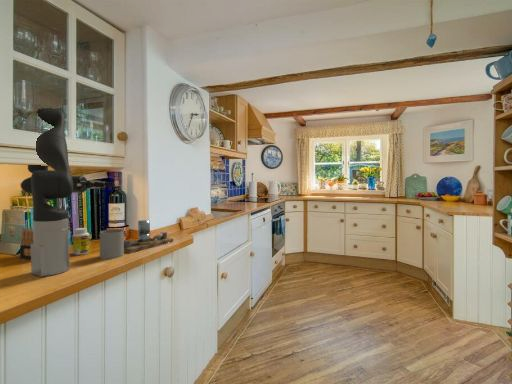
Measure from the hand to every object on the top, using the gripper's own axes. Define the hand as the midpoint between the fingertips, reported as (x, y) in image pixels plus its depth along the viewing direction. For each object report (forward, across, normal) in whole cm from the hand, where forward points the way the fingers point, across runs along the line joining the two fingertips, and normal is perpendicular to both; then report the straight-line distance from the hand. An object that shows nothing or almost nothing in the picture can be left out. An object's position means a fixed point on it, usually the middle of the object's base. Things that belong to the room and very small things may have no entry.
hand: (109, 184), depth 123 cm
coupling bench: (+16, 0, +28) cm, 33 cm away
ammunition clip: (-18, -20, +28) cm, 39 cm away
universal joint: (+16, 0, +26) cm, 31 cm away
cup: (+9, -17, +28) cm, 34 cm away
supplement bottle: (-5, -13, +28) cm, 32 cm away
